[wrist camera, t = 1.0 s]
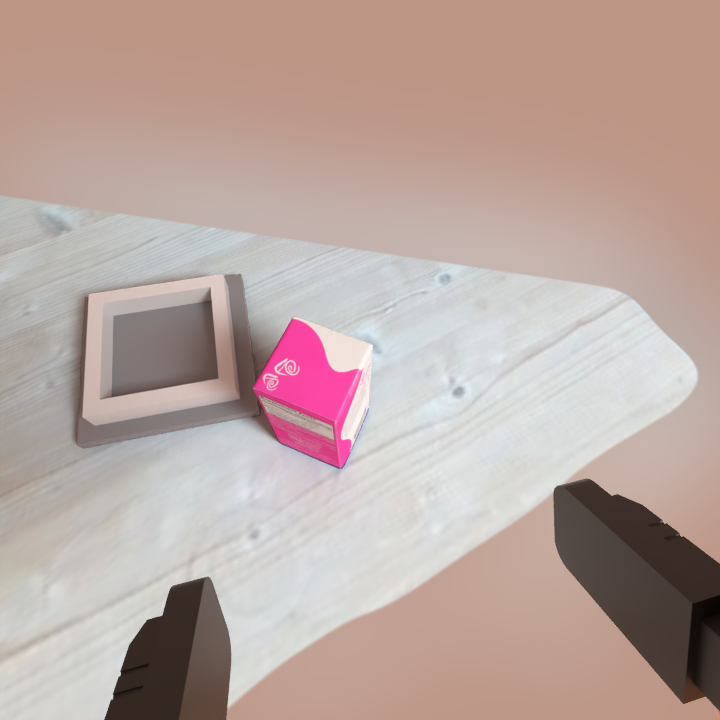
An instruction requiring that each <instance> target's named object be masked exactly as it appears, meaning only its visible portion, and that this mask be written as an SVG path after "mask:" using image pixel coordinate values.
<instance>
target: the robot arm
mask: <svg viewBox="0 0 720 720" xmlns="http://www.w3.org/2000/svg"><path fill="white" fill-rule="evenodd" d="M554 527H555V543H556V547H557V550H558V553H559V555H560V558H561V559H562V561H563V563H564V565H565V566H566V567H567V569H568V570H569V571H570V572H571V573H572V574H573V576H574V577H575V578H576V579H577V580H578V582H579V583H580V584H581V585H582V586H583V587H584V589H585V590H586V591H587V592H588V593H589V594H590V595H591V597H592V598H593V599H594V600H595V601H596V603H597V604H598V605H599V606H600V607H601V608H602V610H603V611H604V612H605V613H606V614H607V615H608V617H609V618H610V619H611V620H612V621H613V622H614V623H615V625H616V626H617V627H618V628H619V629H620V631H621V632H622V633H623V634H624V635H625V636H626V638H627V639H628V640H629V641H630V642H631V643H632V645H633V646H634V647H635V648H636V649H637V650H638V652H639V653H640V654H641V655H642V656H643V657H644V659H645V660H646V661H647V662H648V663H649V664H650V666H651V667H652V668H653V669H654V670H655V671H656V673H657V674H658V675H659V676H660V677H661V678H662V680H663V681H664V682H665V683H666V684H667V685H668V687H669V688H670V689H671V690H672V691H673V692H674V694H675V695H676V696H677V697H678V698H679V699H680V701H681V702H682V703H683V704H685V703H688V702H691V701H694V700H696V699H699V698H702V697H705V696H706V697H707V698H708V699H709V700H710V701H711V702H712V704H713V705H714V706H715V707H716V708H717V714H716V720H720V564H719V563H718V562H716V561H715V560H714V559H713V558H711V557H710V556H708V555H707V554H706V553H705V552H703V551H702V550H701V549H699V548H698V547H697V546H695V545H694V544H693V543H692V542H690V541H689V540H688V539H686V538H685V537H681V536H680V534H679V533H678V532H677V531H676V530H675V529H673V528H672V527H670V526H669V525H668V524H667V523H666V524H664V523H663V520H661V519H660V518H659V517H657V516H656V515H655V514H653V513H652V512H651V511H649V510H648V509H647V508H646V507H644V506H643V505H641V504H639V503H636V502H634V501H632V500H629V499H627V498H625V497H622V496H620V495H618V494H617V495H613V496H611V495H610V494H608V493H607V492H606V491H605V490H604V489H602V488H601V487H600V486H599V485H597V484H596V483H595V482H594V481H592V480H590V479H583V480H579V481H576V482H572V483H567V484H564V485H560V486H557V487H556V488H555V490H554ZM230 670H231V645H230V637H229V632H228V629H227V625H226V622H225V619H224V616H223V613H222V610H221V607H220V604H219V601H218V598H217V595H216V592H215V589H214V586H213V583H212V581H211V579H210V578H209V577H205V578H201V579H197V580H193V581H189V582H185V583H182V584H178V585H174V586H172V587H171V589H170V591H169V594H168V597H167V601H166V605H165V608H164V612H163V616H160V617H156V618H152V619H149V620H147V621H146V622H145V624H144V625H143V627H142V628H141V629H140V631H139V632H138V634H137V635H136V636H135V638H134V639H133V641H132V642H131V643H130V645H129V648H128V651H127V654H126V657H125V660H124V663H123V666H122V669H121V676H120V677H119V678H118V681H117V684H116V687H115V690H114V693H113V700H111V702H110V705H109V708H108V711H107V714H106V717H105V720H226V715H227V703H228V692H229V681H230Z"/></svg>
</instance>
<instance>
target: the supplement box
mask: <svg viewBox="0 0 720 720" xmlns="http://www.w3.org/2000/svg"><path fill="white" fill-rule="evenodd" d="M372 348H373V345H372V344H370V343H367V342H364V341H361V340H358V339H355V338H352V337H350V336H347V335H344V334H341V333H338V332H336V331H333V330H330V329H327V328H325V327H322V326H320V325H317V324H314V323H312V322H309V321H306V320H304V319H301V318H298V317H296V316H294V317H293V318H292V320H291V322H290V323H289V325H288V327H287V328H286V330H285V332H284V334H283V335H282V337H281V339H280V341H279V342H278V344H277V346H276V348H275V349H274V351H273V353H272V355H271V357H270V358H269V360H268V362H267V364H266V365H265V367H264V369H263V371H262V372H261V374H260V376H259V378H258V380H257V381H256V383H255V385H254V386H253V390H254V392H255V394H256V396H257V398H258V400H259V402H260V404H261V406H262V408H263V410H264V412H265V414H266V416H267V418H268V420H269V422H270V424H271V426H272V428H273V430H274V432H275V434H276V436H277V438H278V440H279V442H280V443H281V444H283V445H285V446H288V447H290V448H292V449H295V450H297V451H299V452H302V453H304V454H306V455H308V456H311V457H313V458H315V459H318V460H320V461H322V462H325V463H327V464H329V465H332V466H334V467H337V468H339V469H342V468H343V467H344V465H345V463H346V461H347V459H348V457H349V454H350V452H351V450H352V448H353V445H354V443H355V441H356V439H357V436H358V434H359V432H360V429H361V427H362V425H363V422H364V420H365V417H366V415H367V412H368V410H369V408H368V405H369V389H370V376H371V361H372Z"/></svg>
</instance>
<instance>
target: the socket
mask: <svg viewBox="0 0 720 720" xmlns="http://www.w3.org/2000/svg"><path fill="white" fill-rule="evenodd" d="M255 383H256V378H255V371H254V363H253V355H252V347H251V339H250V332H249V324H248V316H247V308H246V300H245V293H244V285H243V279H242V276H241V274H237V275H231V276H224V275H223V274H219V275H213V276H206V277H199V278H193V279H186V280H179V281H173V282H166V283H159V284H153V285H146V286H139V287H132V288H126V289H119V290H112V291H106V292H99V293H92V294H89V297H85V311H84V328H83V346H82V364H81V381H80V399H79V417H78V434H77V445H78V446H80V447H82V448H88V447H93V446H98V445H104V444H109V443H114V442H119V441H125V440H130V439H135V438H141V437H146V436H151V435H156V434H162V433H167V432H172V431H178V430H183V429H188V428H193V427H199V426H204V425H209V424H214V423H220V422H225V421H230V420H236V419H241V418H246V417H251V416H257V415H260V410H259V402H258V398H257V396H256V394H255V392H254V390H253V386H254V385H255Z"/></svg>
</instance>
